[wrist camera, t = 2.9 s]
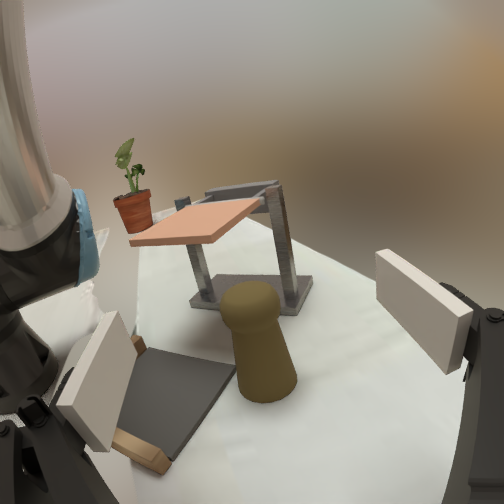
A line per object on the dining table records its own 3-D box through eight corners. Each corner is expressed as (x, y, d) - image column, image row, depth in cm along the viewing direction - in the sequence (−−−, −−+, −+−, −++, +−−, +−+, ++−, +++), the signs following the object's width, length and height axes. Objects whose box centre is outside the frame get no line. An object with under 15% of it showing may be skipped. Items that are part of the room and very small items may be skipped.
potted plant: (167, 219, 113) (146, 129, 101) (144, 233, 100) (119, 133, 88) (137, 224, 118) (116, 140, 106) (113, 237, 105) (89, 146, 93)
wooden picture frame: (69, 418, 26) (57, 404, 25) (140, 349, 38) (133, 334, 37) (163, 475, 20) (150, 461, 19) (236, 370, 32) (230, 353, 31)
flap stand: (218, 280, 54) (196, 189, 49) (312, 282, 47) (298, 176, 41) (191, 307, 47) (161, 205, 41) (296, 315, 39) (276, 190, 34)
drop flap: (216, 212, 49) (210, 188, 48) (285, 206, 44) (280, 179, 43) (136, 267, 33) (125, 235, 32) (222, 269, 28) (211, 228, 27)
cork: (231, 401, 27) (199, 309, 24) (246, 361, 33) (223, 274, 29) (293, 403, 26) (276, 306, 22) (300, 361, 31) (286, 269, 27)
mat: (86, 415, 27) (83, 411, 27) (150, 350, 38) (149, 347, 37) (173, 461, 21) (170, 457, 21) (237, 369, 32) (235, 365, 32)
